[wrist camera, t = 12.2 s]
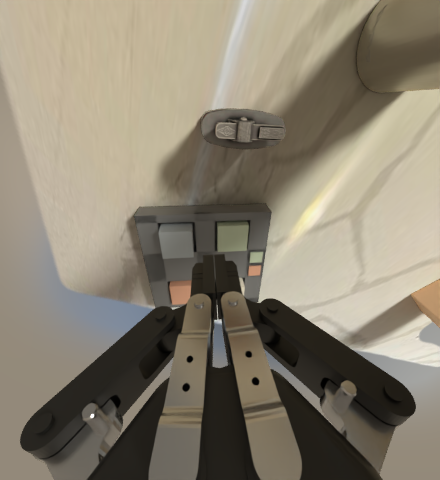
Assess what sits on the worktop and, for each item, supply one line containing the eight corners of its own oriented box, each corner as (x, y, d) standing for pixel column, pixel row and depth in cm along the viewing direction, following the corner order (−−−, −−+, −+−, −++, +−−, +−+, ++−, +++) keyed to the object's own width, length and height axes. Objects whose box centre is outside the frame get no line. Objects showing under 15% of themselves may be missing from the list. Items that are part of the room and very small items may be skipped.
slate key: (192, 222, 30) (191, 231, 28) (194, 247, 33) (193, 257, 31) (161, 223, 30) (158, 232, 28) (165, 248, 32) (162, 258, 30)
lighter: (200, 137, 27) (201, 152, 18) (200, 106, 25) (201, 106, 17) (262, 140, 28) (290, 155, 19) (266, 110, 26) (299, 112, 17)
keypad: (265, 203, 32) (271, 212, 30) (254, 290, 42) (258, 302, 40) (139, 207, 31) (133, 216, 28) (158, 295, 41) (155, 309, 38)
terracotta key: (196, 275, 37) (196, 285, 35) (197, 292, 40) (197, 303, 37) (171, 276, 37) (169, 286, 35) (173, 294, 39) (172, 304, 37)
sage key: (245, 217, 32) (248, 225, 30) (243, 241, 34) (246, 250, 32) (216, 218, 32) (217, 226, 29) (216, 242, 34) (217, 251, 32)
